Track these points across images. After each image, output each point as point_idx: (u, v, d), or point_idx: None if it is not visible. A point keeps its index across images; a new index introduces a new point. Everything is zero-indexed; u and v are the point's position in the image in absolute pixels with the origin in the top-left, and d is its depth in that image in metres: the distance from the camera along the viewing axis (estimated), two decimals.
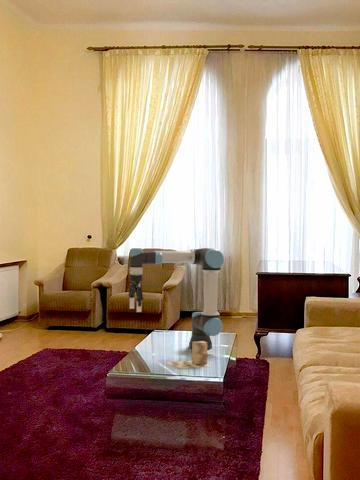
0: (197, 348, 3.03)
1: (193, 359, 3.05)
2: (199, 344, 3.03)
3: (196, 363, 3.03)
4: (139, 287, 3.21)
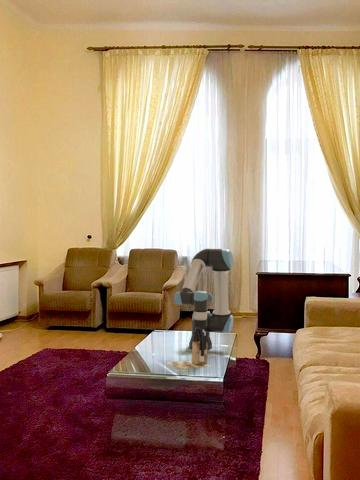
0: (197, 348, 3.03)
1: (193, 359, 3.05)
2: (199, 344, 3.03)
3: (196, 363, 3.03)
4: None
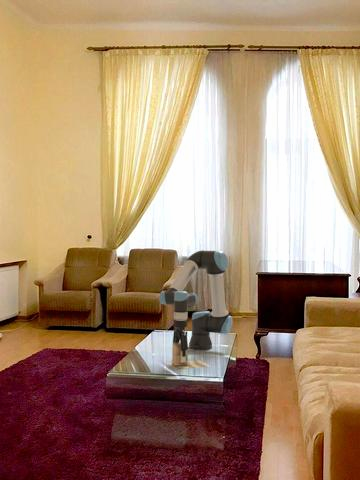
0: (177, 349, 2.98)
1: (173, 361, 3.01)
2: (179, 345, 2.98)
3: (176, 364, 2.98)
4: None
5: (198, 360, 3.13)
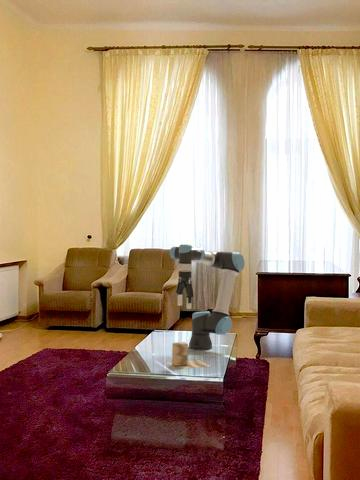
0: (177, 349, 2.98)
1: (173, 361, 3.01)
2: (179, 345, 2.98)
3: (176, 364, 2.98)
4: None
5: (198, 360, 3.13)
